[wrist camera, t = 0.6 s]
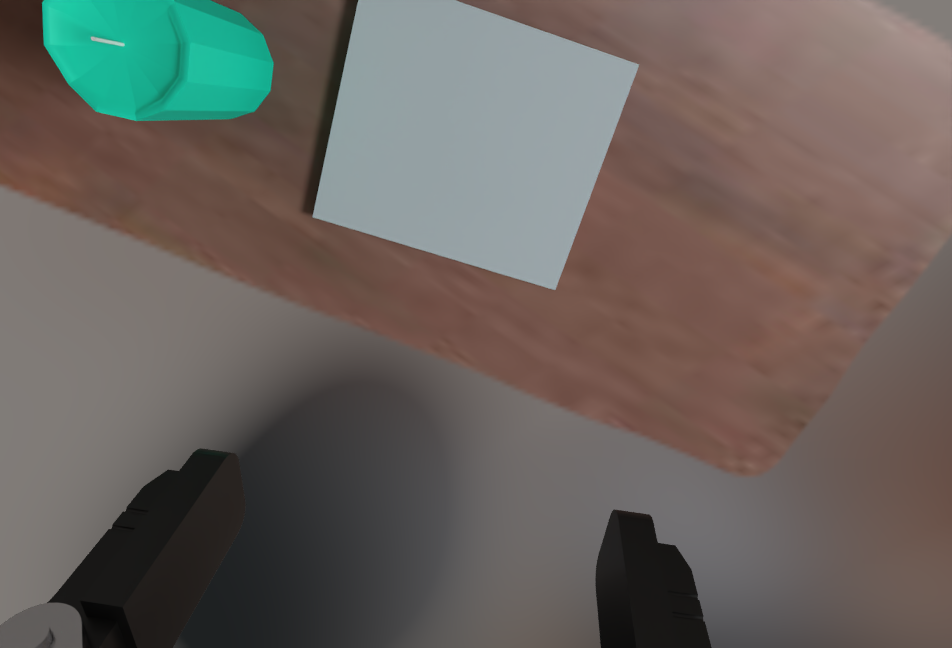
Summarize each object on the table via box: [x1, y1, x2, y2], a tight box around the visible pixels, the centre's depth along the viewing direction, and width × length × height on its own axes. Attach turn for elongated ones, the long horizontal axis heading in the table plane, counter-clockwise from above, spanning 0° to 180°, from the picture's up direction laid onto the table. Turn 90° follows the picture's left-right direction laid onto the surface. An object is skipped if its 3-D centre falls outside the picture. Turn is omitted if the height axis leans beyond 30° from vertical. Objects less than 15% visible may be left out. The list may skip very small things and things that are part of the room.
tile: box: [313, 0, 639, 290], centre depth 34 cm, size 16×14×1 cm
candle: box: [42, 0, 274, 121], centre depth 28 cm, size 6×6×12 cm
